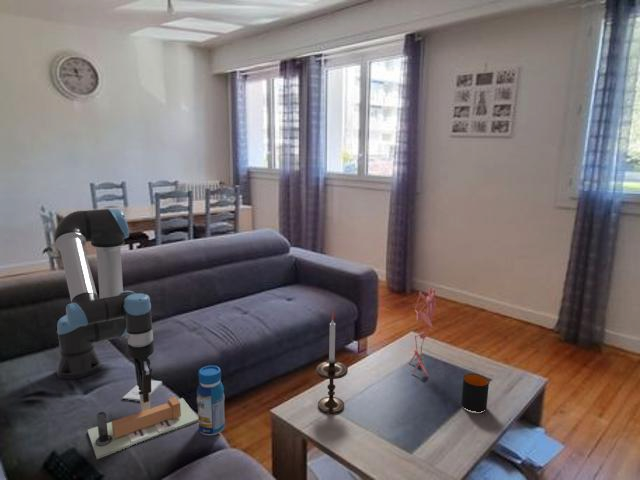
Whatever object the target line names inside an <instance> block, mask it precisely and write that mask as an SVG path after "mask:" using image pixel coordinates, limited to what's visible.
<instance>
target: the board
mask: <svg viewBox="0 0 640 480" xmlns="http://www.w3.org/2000/svg"><path fill="white" fill-rule="evenodd" d="M177 399H178V398H177ZM178 401H179V402H180V408H181V416H180V417H177V418H174V419H173V418H171V420H172V422H173V423H174V425H175V427H173V428H170V429H167V430H165V431H162V432H158V430H157V428H156V426H155V425H151V426H148V427H145V429H146V431H147V433H148V435H149V437H146V438H143V439H140V440H138V441H135V442H131V440H130V438H129V436H128V434H126V435H123V436H120V437H117V438H115V437H114V435H113V430H112V421H110V422H107V431H108V435H110V436H112V441H111V442H110V443H109V444H108V445H105V446H97V445H96V439H97V438H99V434H98V425H97V426H95V427H91V428H89V429H87V433H88V437H89V440H90V442H91V445H92V449H93V452H94V455H95V458H96V460H99V459H101V458H104V457H107V456H109V455H112V454H114V453H117V451H118V452H120V451H123V450H125V448H126V449H129V448H131V447H133V446H132V445H134V444H136V445H138V444H137V443H138V442H141V441H143V440H146V439H148V438H151V437H154V436H157V435H159V434H162V433H164V432H168V431H171V430H174V429H176V430H179V429H182V428H184V427H186V426H187V427H188V426H190V425H192V424H194V423H197V422H198V423H199V418H198V415H196V413H195V412H194V410H193V409H192V408H191V406H189V404H188V403H187V402H186V400H185V399H184V398H183V397H180V398H179V399H178ZM178 428H179V429H178ZM174 431H175V430H174ZM171 432H172V431H171ZM168 433H169V432H168ZM130 446H131V447H130ZM134 446H135V445H134ZM122 449H123V450H122Z"/></svg>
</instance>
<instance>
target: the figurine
mask: <svg viewBox="0 0 640 480" xmlns="http://www.w3.org/2000/svg"><path fill="white" fill-rule="evenodd" d="M418 293H419V294H418V298H417V301H416V305H415V308H414V312H415V313H416V324H418V323H419V320H420V318H421V319H422V321H423V322H424V323H425V324H424V329H423V331H421V332H419V334H418V335H414V340H415V349H416V350H414V352H413V353H414V355H413V356H412V358H411V359H410V361H409V362H411V363H412V362H413V360H414V359H415V357H417V359H418V360H417V362H418V364H417V365H416V367H415V368H414V370H413V371H412V373H414V374H415V372H416V371H417V369H418V367H420V368H421V370H422V372H424V374H425V375H426V376H428V377H429V374H428V372H427V369H425V366H424V365H423V363H422V361H423V358H422V355H421V354H423V353H422V350H423V344H424V342H425V341H424V340H425V339H426V337H427V333H426V330H427V329H426V328H427V326H428V327H429V328H430V329H432V330H433V329H434V326H433V324H432V321H431V320H432V319H433V317H434V309H436V307H437V303H436V298H435V297H436V295H435V294H436V289H435V288H432V286H431V285H429V288H428V295H427V296H425V295H424V293H422V291H419V292H418ZM421 298H422V300H423V301H424V302H425V304H424V305H423V306H422V307H421V308H420V310H419V311H417V309H418V304H419V301H420V299H421ZM426 306H427V307H426ZM425 307H426V313H425V312H423V311H422V310H423V309H424V308H425ZM429 316H430V318H429ZM417 337H419V338H420V339H423V340H422V341H421V345H420V353H419V351H418V344H417Z"/></svg>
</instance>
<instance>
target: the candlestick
mask: <svg viewBox="0 0 640 480" xmlns="http://www.w3.org/2000/svg"><path fill="white" fill-rule="evenodd" d="M331 314H332V315H331V322H330V323H329V337H328V338H329V344H328V345H329V347H328V348H329V349H328V350H329V351H328V353H329V354H328V358H327V359H326V360H325V361H321V362H318V364H317V365H316V366H315V373H316V375H318V376H319V377H321V378H322V379H327V380H329V384H327V389H328V391H327V395H328V396H325V397H322V398H321V399H320V400H318V403H317V408H318V410H319V409H320V410H321V411H320V410H319V411H320V412H322V413H323V412H324V414H326V413H329V414H328V415H336V413H337V414H340V413H341V412H343V411H344V409H345V402H344V401H343V400H342V399H341V398H338V397H335V394H336V392H335V389H336V385H335V384H334V380H338V379H342V378H344V377H345V376H347V374H348V370H349V369H348V366H347V365H346V364H345V363H343V362H341V361H338V359H336V358H335V357H336V356H335V355H336V351H335V350H336V347H335V346H336V322H335V321H334V319H335V310H333V311H332V312H331ZM334 413H335V414H334Z"/></svg>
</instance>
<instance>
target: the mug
mask: <svg viewBox="0 0 640 480" xmlns="http://www.w3.org/2000/svg"><path fill="white" fill-rule="evenodd" d="M462 380H463V381H462V389H461V391H462V393H461V403H460V405H461V404H462V406H463V407H464V408H466V409H468V410H471V411H476V412H481V411H484V410H486V411H487V407H488V398H489V396H488V395H489V385H490V380H489V379H487V377H486V376H484V375H480V374H476V373H468V374H465V375H464V376H463V379H462ZM462 406H461V407H462Z"/></svg>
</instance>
